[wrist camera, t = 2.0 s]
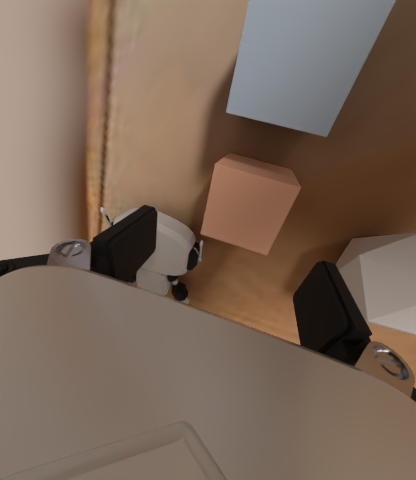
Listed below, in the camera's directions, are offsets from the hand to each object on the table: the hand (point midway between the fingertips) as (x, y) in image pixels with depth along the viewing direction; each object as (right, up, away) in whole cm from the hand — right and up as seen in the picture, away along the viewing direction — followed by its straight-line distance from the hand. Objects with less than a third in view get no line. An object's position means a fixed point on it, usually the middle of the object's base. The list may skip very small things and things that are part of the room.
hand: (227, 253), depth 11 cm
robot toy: (-8, -1, +16) cm, 18 cm away
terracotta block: (+3, +6, +8) cm, 11 cm away
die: (+16, -1, +9) cm, 18 cm away
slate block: (+5, +13, +3) cm, 14 cm away
